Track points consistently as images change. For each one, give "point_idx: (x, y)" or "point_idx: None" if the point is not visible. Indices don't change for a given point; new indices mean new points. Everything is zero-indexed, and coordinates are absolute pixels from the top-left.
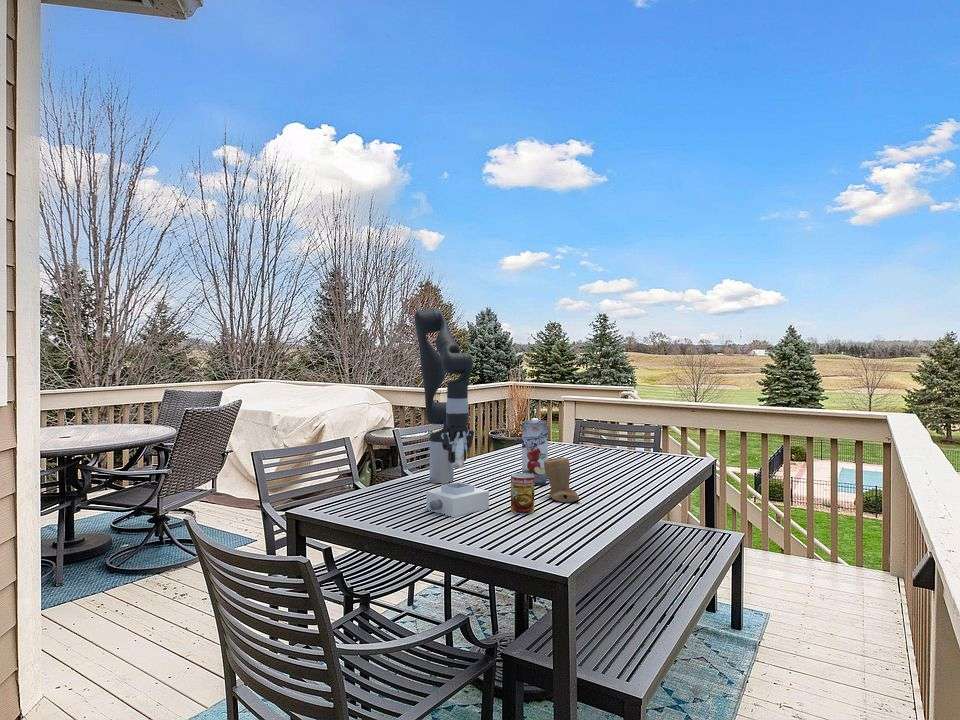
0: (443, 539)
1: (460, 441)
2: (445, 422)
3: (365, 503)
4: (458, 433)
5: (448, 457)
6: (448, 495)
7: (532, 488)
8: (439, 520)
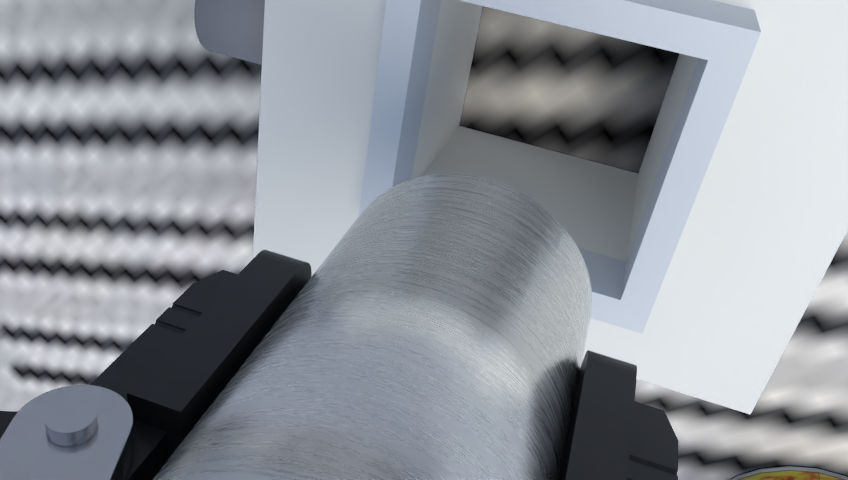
0: (5, 347)
1: None
2: None
3: None
4: None
5: (167, 317)
6: (312, 150)
7: None
8: (201, 136)
